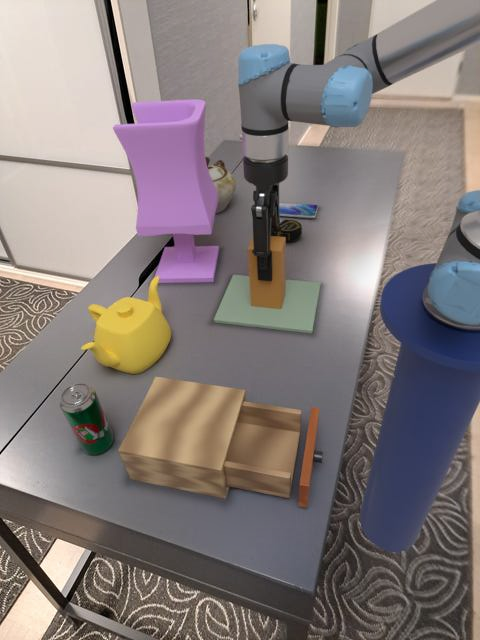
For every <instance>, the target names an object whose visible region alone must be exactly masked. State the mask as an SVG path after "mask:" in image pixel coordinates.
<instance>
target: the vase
mask: <svg viewBox="0 0 480 640" xmlns="http://www.w3.org/2000/svg"><path fill="white" fill-rule="evenodd" d="M131 108H132V109H131V110H132V112H133V114H134V117H135V120H136V123H123V124H114V125H113V126H112V130H113V132H114V134H115V135H116V138H117V139H118V141H119V143H120V145H121V146H122V149H123V151H124V152H125V154H126V156H127V159H128V161H129V163H130V165H131V168H132V172H133V174H134V178H135V181H136V182H135V183H136V189H137V190H136V191H137V215H136V224H135V230H136V234H137V237H153V236H155V237H156V236H162V235H171V234H172V238H173V243H174V246H164V249H163V251H162V255H161V257H160V260H159V263H158V265H157V269H156V272H155V275H154V277H153V279H154V278H155V277H156V276H159V282H158V284H177V283H179V284H180V283H214V281H215V277H216V270H217V264H218V259H219V253H220V246H219V245H201V246H200V245H198V246H197V245H195V238H194V235H196V236H199V235H212V233H213V228H214V222H215V217H216V213H215V212H216V209H217V205H218V192H217V190H216V187H215V185H214V183H213V181H212V179H211V176H210V174H209V171H208V167H207V164H206V159H205V157H206V152H205V124H206V123H205V122H206V110H207V109H206V108H207V103H206V101H205V100H203V99H197V98H196V99H194V98H193V99H173V100H172V99H171V100H154V101H135V102H132V104H131Z"/></svg>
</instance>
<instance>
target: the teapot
mask: <svg viewBox="0 0 480 640" xmlns="http://www.w3.org/2000/svg"><path fill="white" fill-rule="evenodd" d="M154 277H155V276H154ZM154 277H153V279H151V281H150V284H149V287H148V295H147V301H146V300H144V299H139V298H136V297H130V296H127V297H123V298H120V299H119V300H117V301H115V302H114V303H112V304H111V305H110V306H108V308H106V307H105V306H102V305H100V304H97V303H92V304H90V305H89V306H87V307H88V308H87V311H88V313H89V315H90V316H91V318H92V320H93V321H94V322H95V323H96V324H95V328H94V334H93V341H90V342H86V343H85V344H83V345H82V346H81V348H80V349H81V350H83V351H87V350H88V351H89V350H90V351H92V353H93V355H94V358H95V359H96V361H97V362H98V363H99V364H100V365H103V366H104V367H108V368H112V369H114V370H117V371H119V372H123V373H127V374H131V375H136V374H137V375H138V374H141V373H143V372H145V371H147V370H148V369H149V368H150V367H152V366H153V365H154V364H156V363H157V362H158V360H160V359H161V357H162V356H163V355H164V353H165V351H166V350H167V348H168V345H169V344H170V341H171V338H172V331H171V327H170V324H169V322H168V320H167V318H166V317H165V316H164V314H163V307H162V302H161V300H160V296H159V292H158V287H159V283H158V282H159V276H156V277H155V278H154Z"/></svg>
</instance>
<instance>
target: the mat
mask: <svg viewBox="0 0 480 640" xmlns="http://www.w3.org/2000/svg"><path fill="white" fill-rule="evenodd" d="M321 285H322V282H321V281H320V282H318V281H309V280H308V281H307V280H298V279H288V278H285V297H284V301H283V305H282V309H274V308H265V307H255V306H251V295H250V279H249V275H244V274H243V275H242V274H233V275H232V277H231V278H230V281H229V283H228V285H227V288H226V289H225V292H224V295H223V297H222V299H221V302H220V304H219V306H218V309H217V311H216V313H215V315H214V318H213V323H215V324H224V325H234V326H241V327H242V326H244V327H249V328H250V327H251V328H260V329H267V330H275V331H276V330H277V331H284V332H285V331H286V332H294V333H302V334H303V333H304V334H313V331H314V326H315V319H316V314H317V308H318V303H319V297H320V292H321Z"/></svg>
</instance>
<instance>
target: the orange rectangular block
mask: <svg viewBox="0 0 480 640" xmlns="http://www.w3.org/2000/svg"><path fill="white" fill-rule="evenodd" d="M286 244H287V242H286V237H278V236H271V244H270V250H271V251H272V281H262V280H258V270H257V256H254V253H252V250H253V249H254V243H253V236H252V237H251V239H250V242H249V244H248V247H247V260H248V276H249V279H250V295H251V306H255V307H265V308H274V309H282V305H283V301H284V297H285V279H286V275H287V273H286V271H287V270H286V269H287V267H286V265H287V263H286V261H287V259H286V257H287V256H286V254H287V253H286V249H287V248H286V247H287V246H286Z"/></svg>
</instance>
